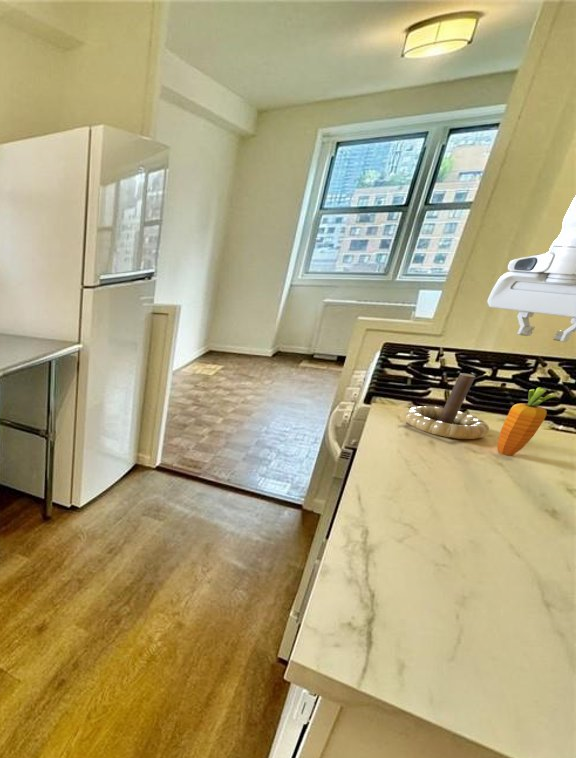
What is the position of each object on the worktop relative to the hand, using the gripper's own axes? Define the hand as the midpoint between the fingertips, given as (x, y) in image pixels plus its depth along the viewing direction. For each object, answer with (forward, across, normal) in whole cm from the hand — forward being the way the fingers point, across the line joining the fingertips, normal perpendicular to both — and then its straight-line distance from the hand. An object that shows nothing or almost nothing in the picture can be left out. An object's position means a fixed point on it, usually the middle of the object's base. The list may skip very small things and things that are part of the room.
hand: (541, 338), depth 96 cm
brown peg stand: (+21, +5, +10) cm, 24 cm away
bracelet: (+18, +5, +10) cm, 21 cm away
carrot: (+22, -7, +12) cm, 26 cm away
